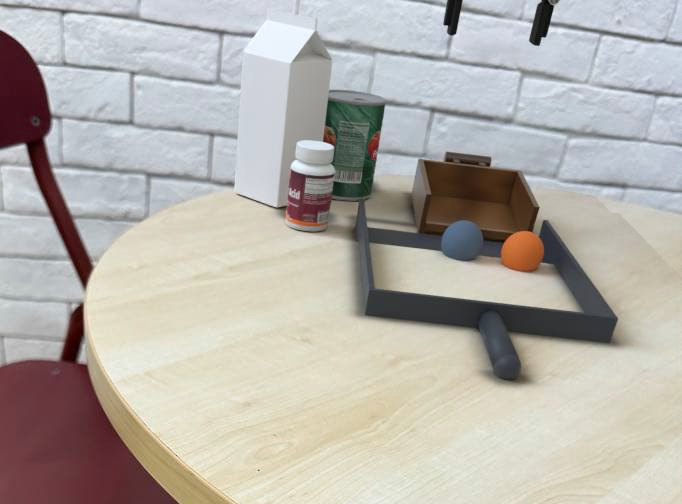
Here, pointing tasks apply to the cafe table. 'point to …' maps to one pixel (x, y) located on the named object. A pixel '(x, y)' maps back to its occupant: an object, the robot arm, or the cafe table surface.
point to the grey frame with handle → (483, 314)
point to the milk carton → (279, 103)
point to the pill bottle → (310, 186)
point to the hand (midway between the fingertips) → (492, 39)
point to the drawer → (472, 197)
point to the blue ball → (462, 241)
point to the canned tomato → (353, 141)
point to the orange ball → (522, 251)
